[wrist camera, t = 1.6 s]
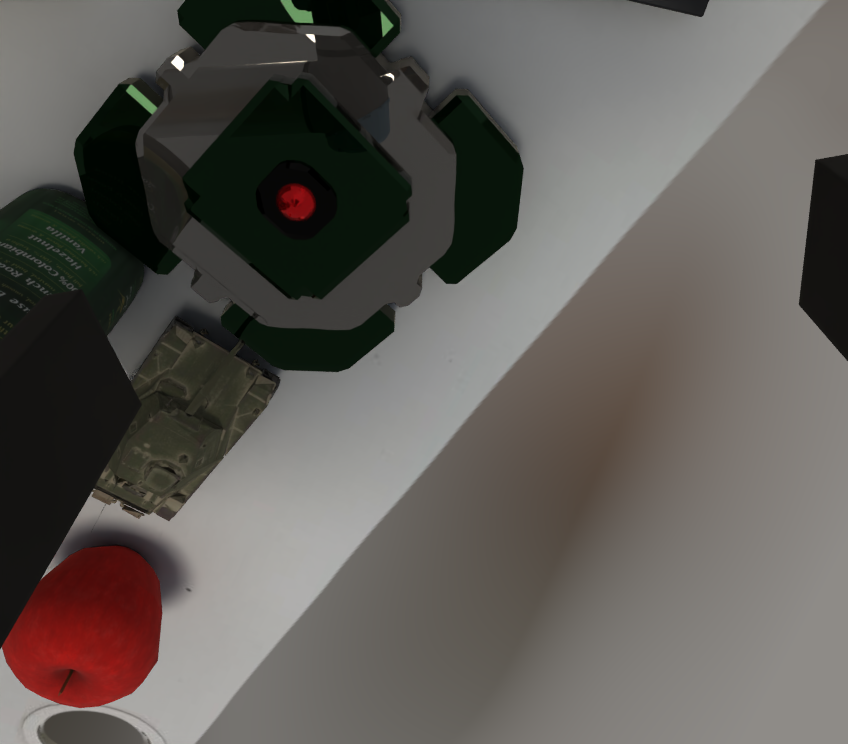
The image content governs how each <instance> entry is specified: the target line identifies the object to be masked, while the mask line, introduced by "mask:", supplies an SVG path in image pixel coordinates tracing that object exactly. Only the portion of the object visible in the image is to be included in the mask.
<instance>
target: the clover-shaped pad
mask: <svg viewBox="0 0 848 744" xmlns="http://www.w3.org/2000/svg"><path fill="white" fill-rule="evenodd" d="M177 12H178V18H179V25H180V26H181V27H182V28H183V29H184V30H185V31H186V32H187V33H188V34H189V35H190V36H192V37H193V38H194V39H195V40H196V41H197V42H198V43H199V44H200V45H201V46H202V47H203V48H204V49H205V51H204V52H203V53H202V54H200V55H199V54H198V53H197V52H196V51H195V50H194V49H193V48H192V47H188V48H184V49H181V50H179V51H178V52H176V53H175V54H173V55H171V56H170V57H168V58H167V59H166V60H165V62H164V63H163V64H162V65H161V67H160V68H159V69H158V70H157V72H156V83H157V84H158V85H159V86H160V87H161V88H162V89H163V90H164V99H163V98H161V97H160V96H159V95H158V94H157V93H156V92H155V91H154V90H153V89H152V88H151V87H149V86H148V85H147V84H146V83H145V82H144V81H143V80H142V79H141V78H128V79H126V80H124V81H123V82H121V83H120V84H118V86H117V87H116V88H115V90H114V91H113V92H112V94H111V95H110V96H109V97H108V99H107V100H106V101H105V103H104V104H103V105H102V106H101V108H100V109H99V110H98V112H97V113H96V114H95V115H94V117H93V118H92V119H91V121H90V122H89V123H88V125H87V126H86V127H85V128H84V130H83V131H82V132H81V134H80V135H79V136H78V137H77V139H76V142H75V148H74V157H75V161H76V165H77V169H78V173H79V177H80V181H81V185H82V189H83V193H84V197H85V201H86V205H87V209H88V214H89V215H90V217H91V218H92V220H93V221H94V223H95V224H96V226H97V227H98V228H99V229H101V230H102V231H103V232H105V233H106V234H107V235H108V236H110V237H111V238H112V239H113V240H115V241H116V242H117V243H118V244H120V245H121V246H122V247H123V248H125V249H126V250H127V251H128V252H130V253H131V254H132V255H134V256H135V257H136V258H137V259H139V260H140V261H141V262H142V263H144V264H145V265H146V266H147V267H149V268H150V269H151V270H152V271H154V272H155V273H156V274H162V275H168V274H169V273H170V272H171V271H172V270H173V269H174V268H175V267H176V266H177V264H178V263H179V262H180V261H181V260H183V261H184V262H186V263H187V264H188V265H189V266H190V267H192V268H193V269H194V270H195V273H194V277H193V279H192V283H191V288H192V289H193V290H194V291H195V292H197V293H198V294H199V295H200V296H202V297H203V298H204V299H205V300H207V301H208V302H209V303H211V302H215V301H218V300H219V299H222V298H227V297H228V298H230V299H231V300H232V301H230V302H229V303H228V304H227V305H226V307H225V309H224V311H223V313H222V315H221V317H220V318H221V324H222V326H223V327H224V328H225V329H227V330H228V331H229V332H231V333H232V334H233V335H234V336H236V337H237V338H238V339H239V340H240V339H241V340H243V341H245V342H246V343H245V344H246V345H247V346H248V347H249V348H251V349H252V350H253V351H255V352H256V353H257V354H258V355H260V356H261V357H262V358H263V359H265V360H266V361H267V362H268V363H270V364H271V365H272V366H275V367H277V368H280V369H283V370H297V371H326V372H339V371H342V370H345V369H349V368H350V367H351V366H352V365H354V364H355V363H356V362H357V361H359V360H360V359H361V358H362V357H363V356H365V355H366V354H367V353H368V352H370V351H371V350H372V349H373V348H374V347H376V346H377V345H378V344H379V343H381V342H382V341H383V340H384V339H385V338H387V337H388V336H389V335H390V334H391V333H393V332H394V328H395V311H394V310H393V309H392V308H391V307H390V306H389V305H387V304H389V303H393V302H394V303H395V304H396V305H397V306H399V307H403V306H408V305H409V304H410V303H412V302H413V301H414V300H415V299H416V298H418V297H419V295H420V293H421V290H422V273H423V272H424V271H425V270H426V269H428V268H429V267H430V268H431V269H432V270H433V271H434V272H435V273H436V274H437V275H438V276H439V277H440V278H441V279H442V280H443V281H444V282H445V283H446V284H457V283H458V282H460V281H461V280H462V279H463V278H464V277H466V276H467V275H468V274H469V273H471V272H472V271H473V270H474V269H475V268H477V267H478V266H479V265H480V264H482V263H483V262H484V261H485V260H486V259H488V258H489V257H490V256H491V255H493V254H494V253H495V252H496V251H498V250H499V249H500V248H501V247H502V246H504V245H505V244H506V243H507V242H509V241H510V239H511V238H512V236H513V234H514V232H515V230H516V229H517V222H518V213H519V204H520V195H521V186H522V178H523V169H524V168H523V165H522V161H521V158H520V155H519V152H518V148H517V146H516V145H515V144H514V143H513V141H512V140H511V139H510V138H509V137H508V136H507V134H506V133H505V132H504V131H503V130H502V129H501V127H500V126H499V125H498V124H497V123H496V122H495V121H494V119H493V118H492V117H491V116H490V115H489V114H488V112H487V111H486V110H485V109H484V108H483V107H482V105H481V104H480V103H479V102H478V101H477V100H476V98H475V97H474V96H473V95H472V94H471V93H470V91H469V90H468V89H455V90H454V91H453V92H452V93H451V94H450V95H449V96H448V97H447V98H446V99H445V100H444V101H443V102H442V103H440V104H439V105H438V106H437V107H436V108H435V109H434V110H432V109H431V108H430V107H429V106H428V105H427V103H426V102H425V101H424V99H425V98H426V95H427V91H428V88H429V76H428V75H427V74H426V73H425V71H424V70H423V69H422V68H421V67H420V66H419V65H418V63H417V62H416V61H415V60H414V59H413V58H412V57H411V56H410V57H407V58H403V59H401V60H399V61H395V62H391V63H390V62H389V61H388V60H387V59H386V58H385V57H384V56H383V54H382V53H381V52H382V51H383V50H384V49H385V48H386V47H387V46H388V45H389V44H390V43H391V42H392V40H393V39H394V38H395V37H396V36H397V35H398V34H399V33H400V31H401V14H400V12H399V11H398V10H397V9H396V8H395V7H394V5H393V4H392V3H391V2H390V1H389V0H185V1H184V3H183V4H182V5H181V6H180V8H179V9H178V10H177Z"/></svg>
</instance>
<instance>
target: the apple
mask: <svg viewBox="0 0 848 744" xmlns="http://www.w3.org/2000/svg"><path fill="white" fill-rule="evenodd" d="M161 620H162V604H161V592H160V581H159V579H158V577H157V575H156V573H155V571H154V569H153V568H152V567H151V566H150V565H149V564H148V563H147V561H146V560H145V559H144V558H143V557H142V556H140V555H139V554H138V553H137V552H135V551H133V550H132V549H130V548H128V547H123V546H118V545H114V546H102V547H91V548H83V549H81V550H79V551H77V552H75V553H73V554H71V555H70V556H69V557H67V558H66V559H65V560H64V561H63V562H61V563H60V564H59V565H58V566H57V567H55V568H54V569H53V570H52V571H50V572H49V573H48V574H47V575H46V576H44V577H43V578H42V579H41V580H40V582H39V583H38V585H37V587H36V588H35V590H34V592H33V594H32V595H31V597H30V599H29V600H28V602H27V604H26V606H25V607H24V609H23V611H22V613H21V614H20V616H19V618H18V619H17V621H16V623H15V625H14V626H13V628H12V630H11V631H10V633H9V635H8V637H7V638H6V640H5V642H4V644H3V645H2V649H3V652H4V656H5V659H6V662H7V664H8V665H9V667H10V668H11V670H12V671H13V673H14V674H15V676H16V677H17V678H18V680H19V681H20V682H21V683H22V684H23V685H24V686H25V688H27V689H29V690H31V691H32V692H34V693H36V694H38V695H40V696H41V697H44V698H46V699H49V700H51V701H54V702H56V703H59V704H63V705H68V706H73V707H78V708H85V707H96V706H101V705H104V704H107V703H110V702H113V701H115V700H118V699H120V698H122V697H125V696H127V695H129V694H131V693H133V692H134V691H135V690H136V689H137V688H138V687H139V686H140V685H141V684H142V683H143V681H144V680H145V678H146V677H147V676H148V674H149V673H150V671H151V670H152V668H153V667H154V665H155V664H156V662H157V661H158V652H159V641H160V631H161Z"/></svg>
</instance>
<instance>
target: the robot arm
mask: <svg viewBox="0 0 848 744" xmlns="http://www.w3.org/2000/svg"><path fill="white" fill-rule="evenodd" d="M807 230H808V231H807V238H806V247H805V255H804V256H805V257H804V264H803V273H802V281H801V290H800V299H799V305H800V307H801V308H802V309H803V310H804V311H805V312H806V313H807V315H808V316H809V317H810V318H811V319H812V320H813V322H814V323H815V324H816V325H817V326H818V327H819V329H820V330H821V331H822V332H823V333H824V334H825V335H826V337H827V338H828V339H829V340H830V341H831V342H832V344H833V345H834V346H835V347H836V348H837V349H838V351H839V352H840V353H841V354H842V355H843V356H844V357H845V358H846V360H847V361H848V154H846V155H840V156H835V157H829V158H824V159H818V160H815V169H814V178H813V186H812V195H811V203H810V212H809V221H808V229H807ZM141 406H142V404H141V402H140V400H139V398H138V396H137V394H136V392H135V390H134V388H133V386H132V384H131V382H130V381H129V379H128V377H127V375H126V373H125V371H124V369H123V367H122V365H121V363H120V361H119V359H118V358H117V356H116V354H115V352H114V350H113V348H112V346H111V344H110V342H109V340H108V338H107V336H106V335H105V333H104V331H103V329H102V327H101V325H100V323H99V321H98V319H97V317H96V315H95V313H94V312H93V310H92V308H91V306H90V304H89V302H88V300H87V298H86V296H85V294H84V292H83V290H82V289H79V290H73V291H67V292H62V293H56V294H50V295H45V296H43V298H42V299H41V300H40V301H39V302H38V303H37V304H36V305H35V306H34V307H33V308H32V309H31V310H30V311H29V312H28V313H27V314H26V315H25V316H24V317H23V318H22V319H21V320H20V321H19V322H18V323H17V324H16V325H15V326H14V327H13V328H12V329H11V330H10V331H9V332H8V333H7V334H6V335H5V336H4V337H3V338H2V339H1V341H0V649H1V647H2V645H3V644H4V642H5V640H6V638H7V637H8V635H9V633H10V631H11V630H12V628H13V626H14V625H15V623H16V621H17V619H18V618H19V616H20V614H21V613H22V611H23V609H24V607H25V606H26V604H27V602H28V600H29V599H30V597H31V595H32V594H33V592H34V590H35V588H36V587H37V585H38V583H39V581H40V580H41V578H42V576H43V575H44V573H45V571H46V569H47V568H48V566H49V564H50V563H51V561H52V559H53V557H54V556H55V554H56V552H57V550H58V549H59V547H60V545H61V544H62V542H63V540H64V538H65V537H66V535H67V533H68V531H69V530H70V528H71V526H72V525H73V523H74V521H75V519H76V518H77V516H78V514H79V513H80V511H81V509H82V507H83V506H84V504H85V502H86V500H87V499H88V497H89V495H90V494H91V492H92V490H93V488H94V487H95V485H96V483H97V481H98V480H99V478H100V476H101V475H102V473H103V471H104V469H105V468H106V466H107V464H108V463H109V461H110V459H111V457H112V456H113V454H114V452H115V450H116V449H117V447H118V445H119V444H120V442H121V440H122V438H123V437H124V435H125V433H126V431H127V430H128V428H129V426H130V425H131V423H132V421H133V419H134V418H135V416H136V414H137V413H138V411H139V409H140V407H141Z"/></svg>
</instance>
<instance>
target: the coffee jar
mask: <svg viewBox="0 0 848 744" xmlns="http://www.w3.org/2000/svg"><path fill="white" fill-rule="evenodd" d="M143 277H144V263H142V262H141V261H140V260H139V259H137V258H136V257H135V256H134V255H132V254H131V253H130V252H128V251H127V250H126V249H125V248H123V247H122V246H121V245H120V244H118V243H117V242H116V241H115V240H113V239H112V238H111V237H110V236H108V235H107V234H106V233H105V232H103V231H102V230H101V229H99V228H98V227H97V226H96V224H95V223H94V221H93V220H92V218H91V217H90V215H89V214H88V209H87V205H86V202H84V201H82V200H80V199H78V198H76V197H74V196H72V195H70V194H68V193H65V192H62V191H59V190H53V189H35V190H32V191H29V192H26V193H24V194H23V195H21V196H19V197H18V198H16V199H15V200H14V201H12V202H11V203H9V204H8V205H7V206H5V207H4V208H3V209H1V210H0V341H1V339H2V338H3V337H4V336H5V335H6V334H7V333H8V332H9V331H10V330H11V329H12V328H13V327H14V326H15V325H16V324H17V323H18V322H19V321H20V320H21V319H22V318H23V317H24V316H25V315H26V314H27V313H28V312H29V311H30V310H31V309H32V308H33V307H34V306H35V305H36V304H37V303H38V302H39V301H40V300H41V299H42V298H43V296H45V295H50V294H56V293H62V292H67V291H73V290H79V289H82V290H83V292H84V294H85V296H86V298H87V300H88V302H89V304H90V306H91V308H92V310H93V312H94V313H95V315H96V317H97V319H98V321H99V323H100V325H101V327H102V329H103V331H104V333H105V335H106V336H107V335H108V334H109V333H110V332H111V330H112V329H113V328H114V326H115V325H116V324H117V322H118V321H119V319H120V318H121V317H122V316H123V314H124V313H125V311H126V310H127V308H128V307H129V306H130V304H131V303H132V301H133V299H134V298H135V296H136V294H137V292H138V290H139V289H140V287H141V284H142V282H143Z"/></svg>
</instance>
